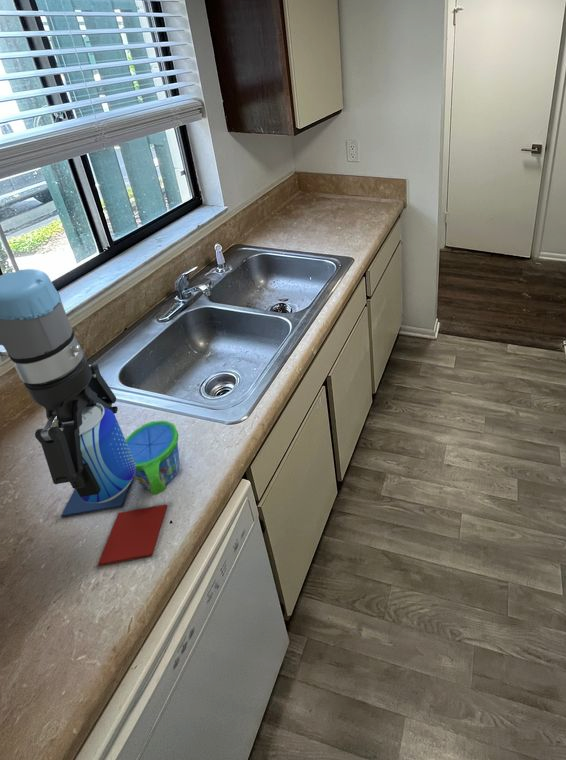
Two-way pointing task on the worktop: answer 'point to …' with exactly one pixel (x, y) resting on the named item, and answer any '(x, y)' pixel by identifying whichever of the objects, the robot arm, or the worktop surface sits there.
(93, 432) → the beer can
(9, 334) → the robot arm
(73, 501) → the blue mat
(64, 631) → the worktop surface
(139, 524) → the red mat
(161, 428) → the snack cup
